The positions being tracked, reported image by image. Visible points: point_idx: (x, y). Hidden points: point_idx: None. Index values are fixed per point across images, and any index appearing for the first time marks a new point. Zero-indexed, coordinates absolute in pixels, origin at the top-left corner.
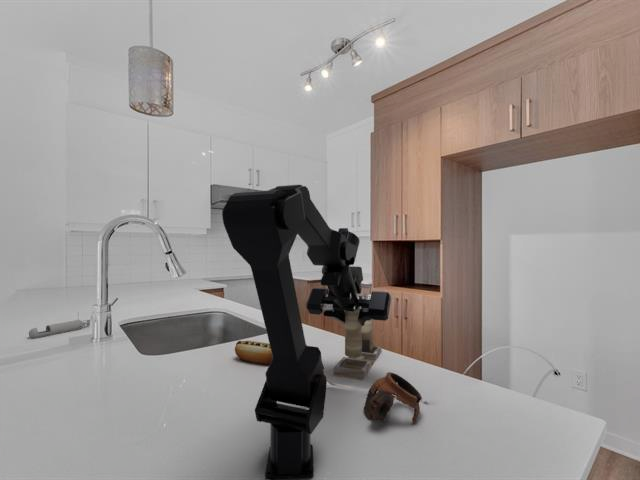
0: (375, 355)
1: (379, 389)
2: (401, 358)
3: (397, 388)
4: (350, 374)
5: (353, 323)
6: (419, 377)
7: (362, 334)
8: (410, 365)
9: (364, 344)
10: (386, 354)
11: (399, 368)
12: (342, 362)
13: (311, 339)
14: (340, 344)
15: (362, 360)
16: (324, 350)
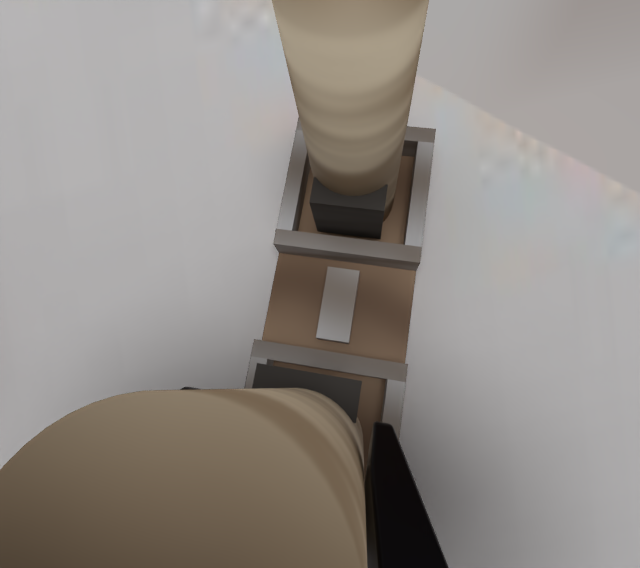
0: (418, 264)
1: None
2: (527, 160)
3: None
4: None
5: None
6: (637, 377)
7: (361, 384)
8: (579, 237)
9: (354, 217)
10: (449, 128)
11: (530, 288)
12: None
13: (77, 33)
14: (218, 59)
15: (359, 368)
16: (154, 154)
